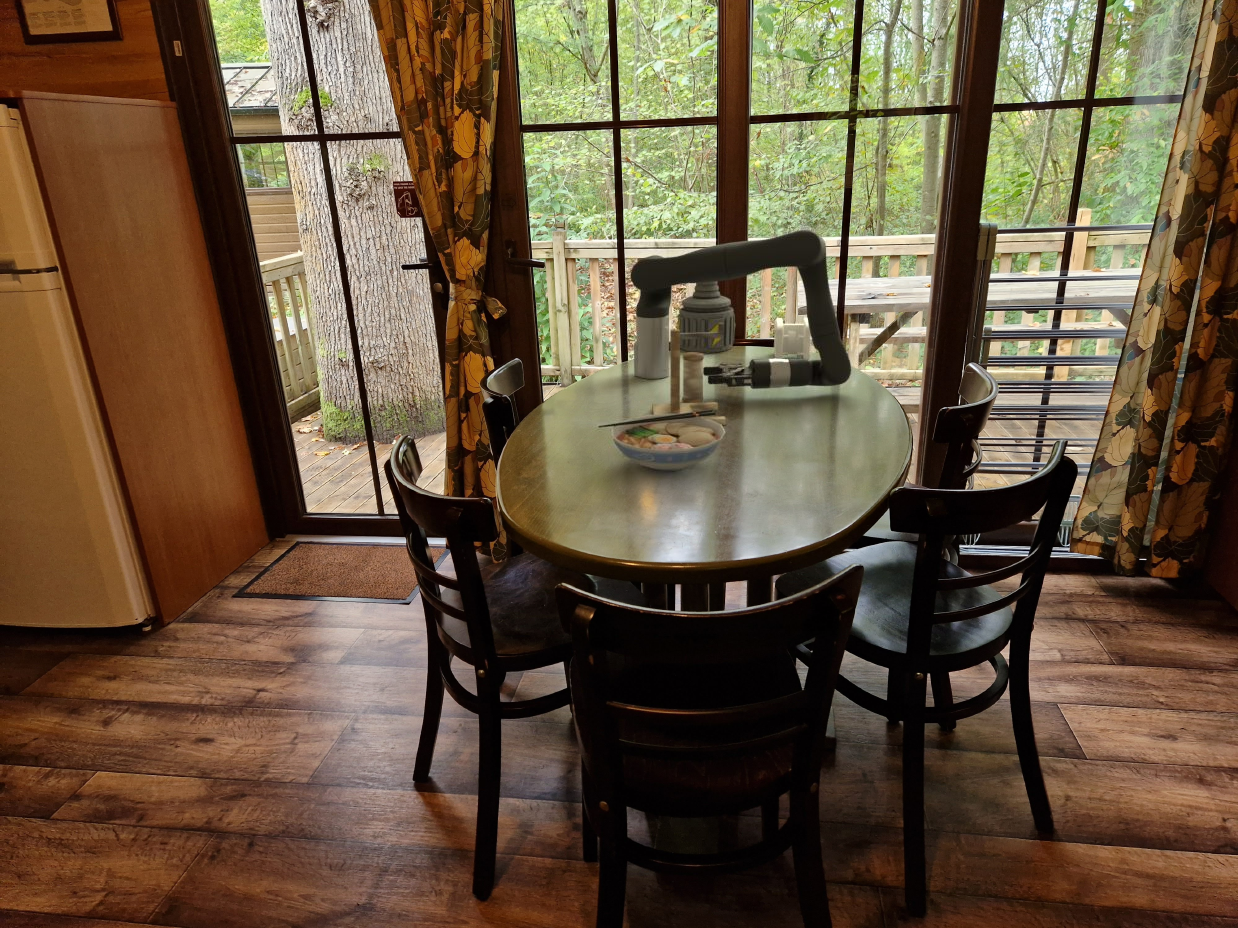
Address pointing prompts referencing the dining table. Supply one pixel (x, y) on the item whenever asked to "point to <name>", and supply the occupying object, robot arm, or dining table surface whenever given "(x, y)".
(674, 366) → the hook stand
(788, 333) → the cable organizer
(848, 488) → the dining table surface
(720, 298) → the decorative lamp
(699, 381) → the cord spool
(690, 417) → the ramen bowl
